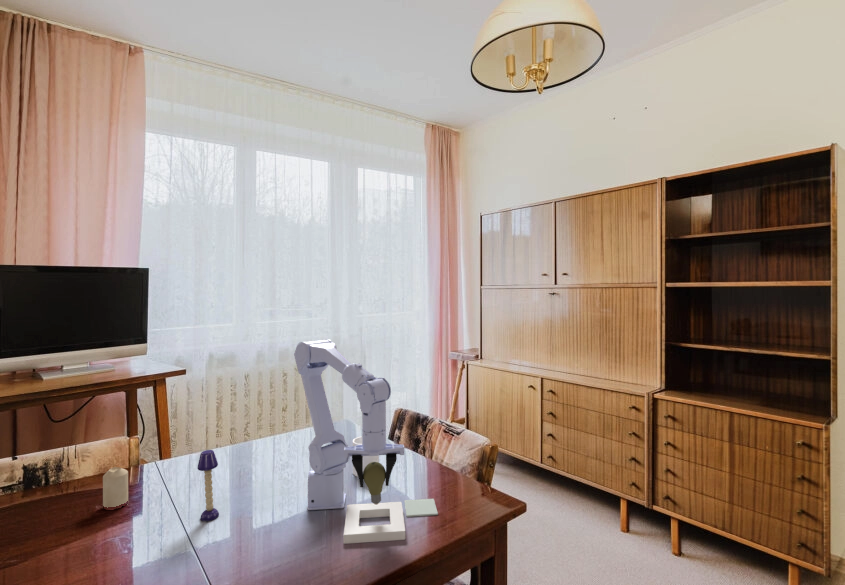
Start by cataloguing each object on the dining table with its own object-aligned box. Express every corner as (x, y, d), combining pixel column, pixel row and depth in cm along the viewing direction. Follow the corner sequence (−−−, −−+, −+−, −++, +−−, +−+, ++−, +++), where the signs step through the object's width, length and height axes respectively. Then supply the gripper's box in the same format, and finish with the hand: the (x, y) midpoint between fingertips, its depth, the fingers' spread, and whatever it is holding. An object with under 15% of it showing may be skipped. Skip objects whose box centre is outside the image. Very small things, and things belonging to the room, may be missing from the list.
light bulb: (384, 509, 102) (381, 466, 103) (361, 509, 104) (358, 466, 104) (390, 498, 108) (387, 458, 108) (369, 498, 109) (366, 458, 109)
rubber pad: (406, 516, 110) (406, 515, 110) (404, 501, 118) (404, 500, 118) (437, 515, 111) (437, 513, 111) (433, 500, 119) (433, 498, 119)
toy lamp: (197, 523, 107) (197, 456, 107) (197, 515, 111) (197, 450, 111) (219, 518, 109) (218, 452, 109) (218, 510, 114) (218, 446, 114)
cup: (376, 461, 146) (376, 431, 146) (380, 476, 134) (380, 443, 134) (351, 463, 144) (351, 433, 144) (353, 478, 133) (353, 445, 133)
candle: (132, 503, 118) (132, 466, 118) (111, 512, 113) (110, 474, 113) (120, 499, 120) (120, 463, 120) (98, 508, 115) (98, 470, 115)
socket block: (343, 543, 98) (343, 534, 98) (347, 512, 112) (347, 504, 112) (405, 539, 100) (405, 530, 100) (401, 509, 114) (401, 501, 114)
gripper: (342, 435, 101) (343, 493, 101) (404, 433, 103) (405, 490, 103) (344, 426, 108) (345, 480, 108) (403, 424, 110) (403, 477, 110)
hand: (374, 484), depth 106 cm, fingers closed on light bulb, 5 cm apart
